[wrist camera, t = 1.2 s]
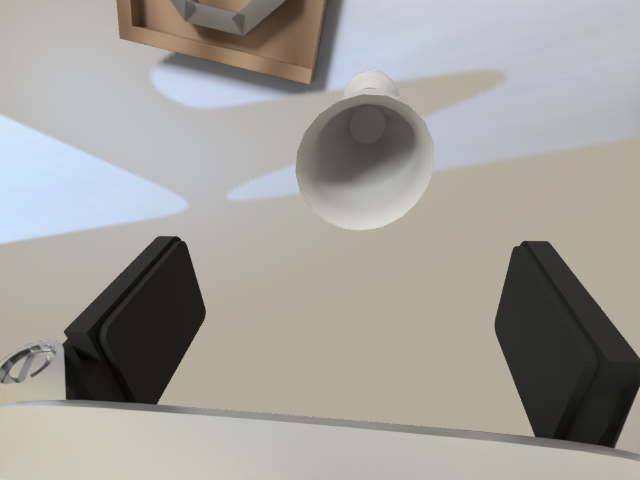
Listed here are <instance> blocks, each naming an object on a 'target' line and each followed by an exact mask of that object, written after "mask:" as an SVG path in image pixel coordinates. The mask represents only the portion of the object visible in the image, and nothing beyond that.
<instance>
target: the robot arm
mask: <svg viewBox="0 0 640 480" xmlns="http://www.w3.org/2000/svg"><path fill="white" fill-rule="evenodd" d="M205 314H206V310H205V306H204V302H203V299H202V296H201V292H200V289H199V285H198V282H197V278H196V275H195V272H194V268H193V265H192V261H191V258H190V254H189V251H188V248H187V245H186V243H185V242H184V241H181V239H180V238H179V237H177V236H175V237H172V236H159V237H157V238H155V240H154V241H153V242H152V243H151V244H150V245H149V246H148V247H147V248H146V249H145V250H144V251H143V252H142V253H141V254H140V255H139V256H138V257H137V258H136V259H135V260H134V261H133V262H132V263H131V264H130V265H129V266H128V267H127V268H126V269H125V270H124V271H123V272H122V273H121V274H120V275H119V276H118V277H117V278H116V279H115V280H114V281H113V282H112V283H111V284H110V285H109V286H108V287H107V288H106V289H105V290H104V291H103V292H102V293H101V294H100V295H99V296H98V297H97V298H96V299H95V300H94V301H93V302H92V303H91V304H90V305H89V306H88V307H87V308H86V309H85V310H84V311H83V312H82V313H81V314H80V315H79V316H78V317H77V318H76V319H75V320H74V321H73V322H72V323H71V324H70V325H69V326H68V327H67V328H66V330H65V331H64V333H65V334H66V336H67V338H68V339H67V340H66V341H65V342H64V343H63V344H61V343H60V342H58V341H57V340H50V339H48V340H39V341H37V342H33V343H29V344H27V345H25V346H23V347H20V348H18V349H16V350H15V351H13V352H12V353H10V354H9V355H7V356H6V357H5V358H3V359H2V360H1V361H0V480H640V358H639V357H638V356H637V354H636V353H635V352H634V351H633V349H632V348H631V347H630V345H629V344H628V343H627V341H626V340H625V339H624V337H623V336H622V335H621V334H620V332H619V331H618V330H617V328H616V327H615V326H614V325H613V323H612V322H611V321H610V320H609V318H608V317H607V316H606V314H605V313H604V312H603V311H602V309H601V308H600V307H599V305H598V304H597V303H596V302H595V300H594V299H593V298H592V297H591V296H590V294H589V293H588V292H587V290H586V289H585V288H584V286H583V285H582V284H581V283H580V281H579V280H578V279H577V277H576V276H575V275H574V274H573V272H572V271H571V270H570V268H569V267H568V266H567V265H566V263H565V262H564V261H563V259H562V258H561V257H560V256H559V254H558V253H557V252H556V250H555V249H554V248H553V247H552V245H551V244H550V243H549V242H547V241H523V242H522V243H521V245H520V246H516V247H514V248H513V251H512V255H511V259H510V263H509V267H508V271H507V275H506V279H505V283H504V287H503V291H502V295H501V299H500V303H499V307H498V311H497V315H496V319H495V332H496V335H497V338H498V341H499V343H500V346H501V349H502V351H503V354H504V356H505V359H506V361H507V364H508V367H509V369H510V372H511V374H512V377H513V380H514V382H515V385H516V388H517V390H518V393H519V396H520V398H521V401H522V403H523V406H524V409H525V411H526V414H527V416H528V419H529V421H530V424H531V427H532V429H533V432H534V435H535V437H529V436H519V435H510V434H500V433H489V432H481V431H470V430H458V429H446V428H436V427H424V426H413V425H400V424H390V423H378V422H366V421H355V420H343V419H330V418H319V417H307V416H294V415H282V414H270V413H257V412H245V411H233V410H220V409H206V408H194V407H180V406H167V405H157V403H158V401H159V399H160V397H161V396H162V394H163V392H164V390H165V389H166V387H167V385H168V383H169V381H170V380H171V378H172V376H173V374H174V373H175V371H176V369H177V367H178V365H179V364H180V362H181V360H182V358H183V356H184V355H185V353H186V351H187V349H188V348H189V346H190V344H191V342H192V341H193V339H194V337H195V335H196V333H197V332H198V330H199V328H200V326H201V325H202V323H203V321H204V319H205Z"/></svg>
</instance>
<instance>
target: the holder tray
mask: <svg viewBox="0 0 640 480" xmlns="http://www.w3.org/2000/svg"><path fill="white" fill-rule="evenodd" d="M326 6H327V0H117V10H118V21H119V22H118V23H119V34H120V38H121V39H124V40H129V41H133V42H137V43H141V44H145V45H150V46H153V47H157V48H162V49H166V50H170V51H174V52H178V53H182V54H186V55H190V56H195V57H199V58H203V59H207V60H211V61H215V62H219V63H223V64H228V65H232V66H236V67H240V68H244V69H248V70H252V71H256V72H261V73H265V74H269V75H273V76H277V77H281V78H285V79H289V80H293V81H298V82H302V83H306V84H310V83H311V82H312V81H313V79H314V73H315V68H316V62H317V57H318V51H319V45H320V40H321V34H322V28H323V23H324V17H325V12H326Z"/></svg>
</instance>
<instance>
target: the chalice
mask: <svg viewBox="0 0 640 480" xmlns="http://www.w3.org/2000/svg"><path fill="white" fill-rule="evenodd" d="M433 168H434V143H433V141H432V138H431V136H430V133H429V131H428V129H427V126H426V124H425V122H424V121H423V120H422V119H421V118H420V117H419V116H418V115H417V114H416V113H415V111H414V110H413V109H412V108H411V107H410V106H409V105H406V104H404V103H403V102H402V101H401V100H400V99H399V98H398V93H397V88H396V86H395V84H394V82H393V81H392V80H391V79H390V78H389V76H388V75H386V74H384V73H382V72H380V71H373V70H369V71H365V72H361V73H359V74H358V75H356V76H355V77H353V78H352V79H351V81H350V82H349V83H348V84H347V86H346V89H345V91H344V95H343V98H342V99H341V100H339V101H338V102H336V103H335V104H334V105H332V106H331V107H330V108H328V109H327V110H325V111H324V112H322V113H321V114H319V116H318V117H317V118H316V119H315V121H314V122H313V123H312V124H311V126H310V127H309V128H308V129H307V130H306V132H305V134H304V137H303V139H302V142H301V144H300V147H299V149H298V151H297V162H296V176H297V181H298V185H299V189H300V193H301V194H302V196H303V197H304V199H305V201H306V202H307V204H308V205H309V207H310V209H312V210H313V211H314V212H315V213H316V214H317V215H319V216H320V217H321V218H322V219H323V220H324V221H326V222H329V223H331V224H334V225H336V226H338V227H341V228H344V229H353V230H368V229H373V228H378V227H383V226H385V225H387V224H389V223H391V222H393V221H395V220H397V219H399V218H401V217H402V216H403V215H405V214H406V213H407V212H408V211H409V210H410V209H411V208H413V207H414V206H415V205H416V204H417V203H418V201H419V200H420V198H421V196H422V195H423V193H424V192H425V190H426V188H427V187H428V185H429V182H430V178H431V175H432V172H433Z"/></svg>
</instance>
